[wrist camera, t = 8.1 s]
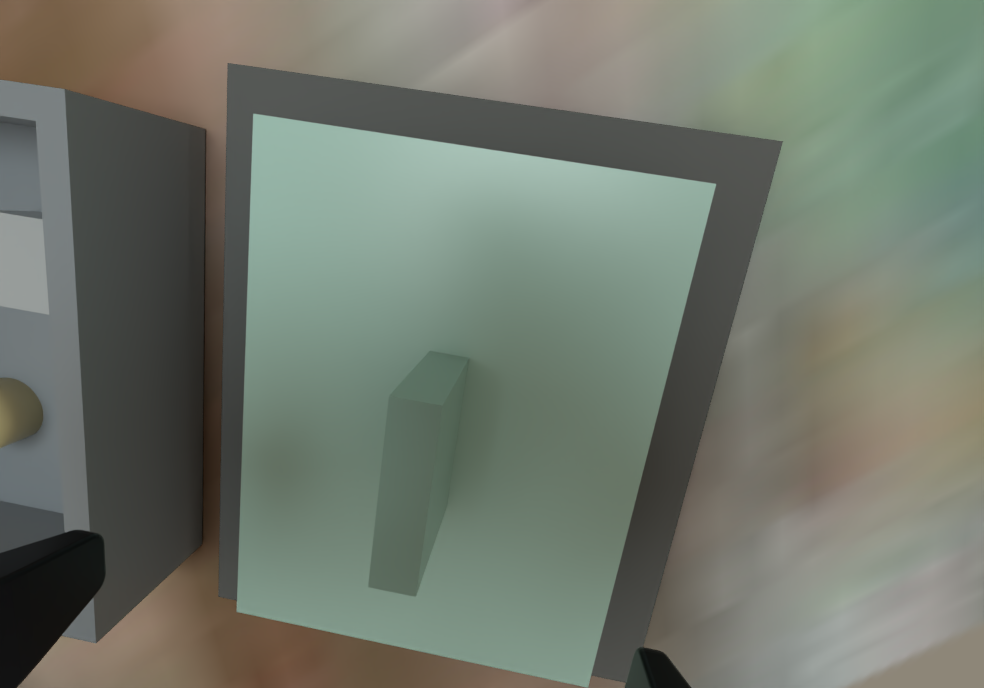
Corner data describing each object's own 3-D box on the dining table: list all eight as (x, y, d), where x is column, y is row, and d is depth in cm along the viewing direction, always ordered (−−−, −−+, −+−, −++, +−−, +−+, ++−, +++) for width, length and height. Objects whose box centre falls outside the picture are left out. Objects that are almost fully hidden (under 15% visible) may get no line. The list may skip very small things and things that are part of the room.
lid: (583, 636, 19) (600, 824, 13) (269, 570, 20) (151, 720, 14) (691, 189, 15) (790, 166, 9) (292, 128, 16) (138, 69, 10)
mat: (630, 675, 20) (632, 684, 19) (224, 589, 21) (218, 596, 20) (776, 143, 15) (782, 141, 14) (235, 66, 16) (227, 62, 16)
